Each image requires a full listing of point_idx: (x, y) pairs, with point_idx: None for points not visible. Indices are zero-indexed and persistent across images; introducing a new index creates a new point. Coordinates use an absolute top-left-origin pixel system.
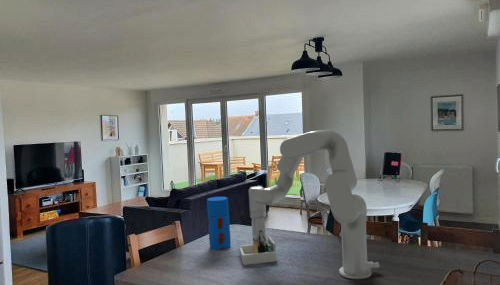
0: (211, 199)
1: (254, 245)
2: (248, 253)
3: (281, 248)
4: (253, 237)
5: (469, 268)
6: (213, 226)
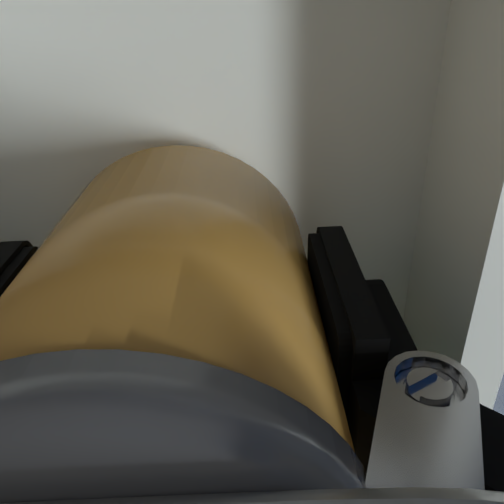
0: None
1: (36, 277)
2: (403, 43)
3: None
4: (199, 473)
5: None
6: None
